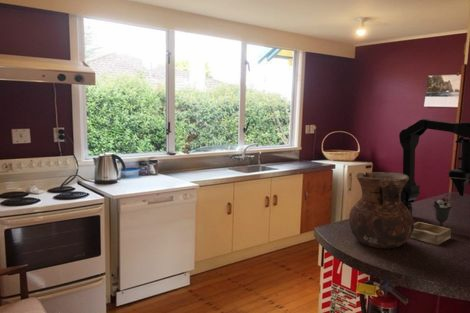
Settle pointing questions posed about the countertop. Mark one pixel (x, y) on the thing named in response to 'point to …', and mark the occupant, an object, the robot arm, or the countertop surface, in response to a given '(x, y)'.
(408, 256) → the countertop surface
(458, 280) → the countertop surface
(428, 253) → the countertop surface
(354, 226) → the jug
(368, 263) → the countertop surface
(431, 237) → the cream square tray
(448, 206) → the sundae
